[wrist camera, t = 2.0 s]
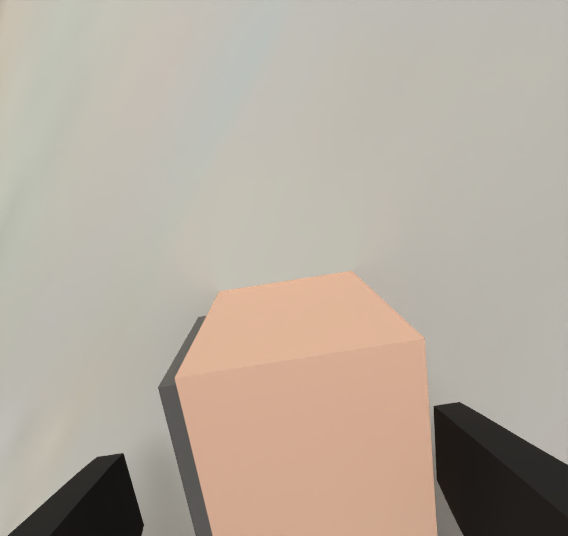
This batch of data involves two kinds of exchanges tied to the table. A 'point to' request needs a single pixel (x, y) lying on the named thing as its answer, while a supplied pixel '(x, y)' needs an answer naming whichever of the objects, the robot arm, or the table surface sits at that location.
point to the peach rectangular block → (303, 414)
